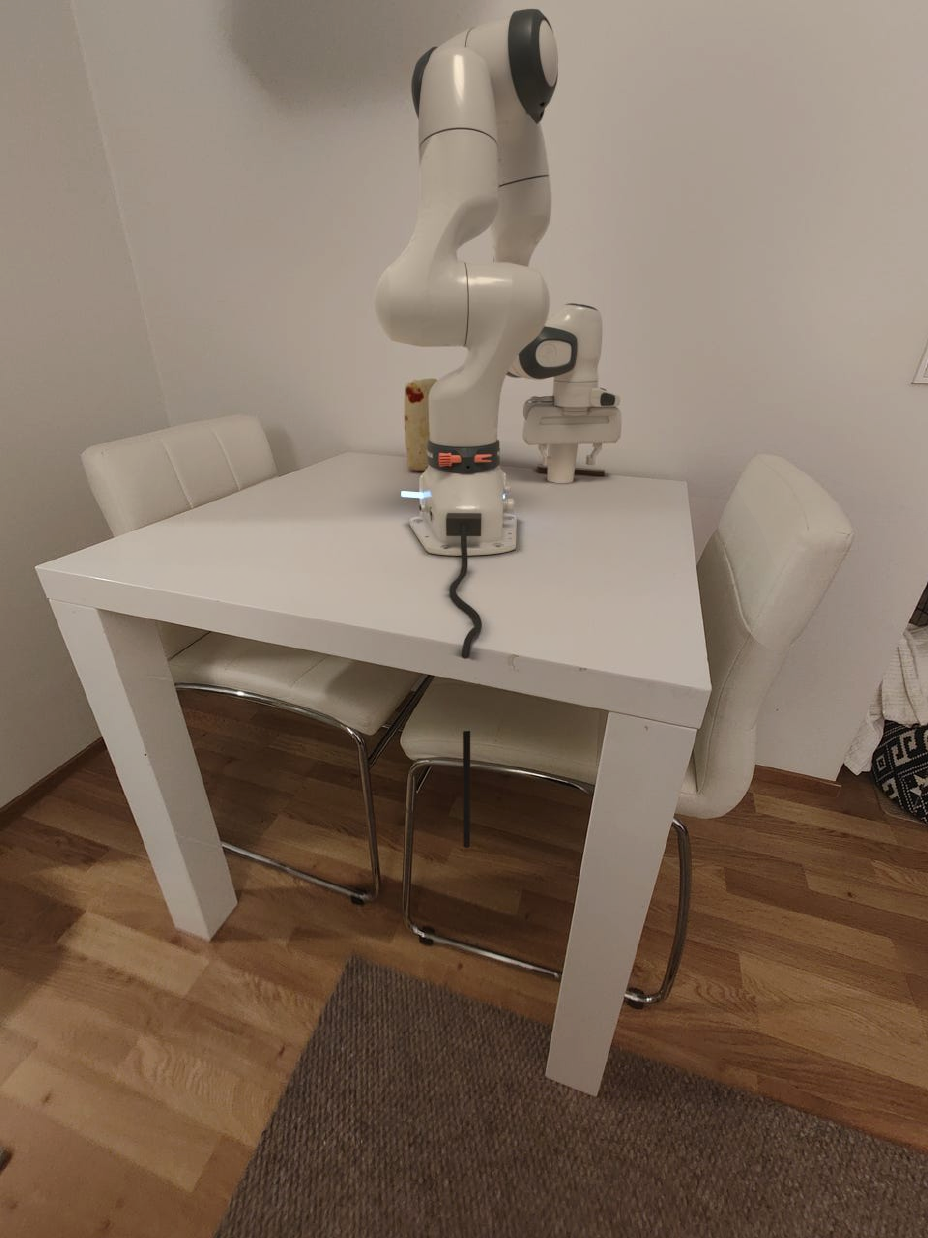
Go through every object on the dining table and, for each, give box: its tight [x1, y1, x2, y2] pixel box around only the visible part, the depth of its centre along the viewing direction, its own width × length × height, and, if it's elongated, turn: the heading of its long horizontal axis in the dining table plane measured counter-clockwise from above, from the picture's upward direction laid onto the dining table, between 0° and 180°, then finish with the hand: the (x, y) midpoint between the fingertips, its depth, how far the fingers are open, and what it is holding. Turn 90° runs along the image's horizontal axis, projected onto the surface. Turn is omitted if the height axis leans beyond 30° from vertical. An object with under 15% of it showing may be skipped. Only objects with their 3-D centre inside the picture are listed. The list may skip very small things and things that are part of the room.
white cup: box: [547, 444, 579, 484], centre depth 124 cm, size 7×7×10 cm
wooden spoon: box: [536, 463, 606, 477], centre depth 131 cm, size 16×4×1 cm, turn 72°
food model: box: [404, 378, 439, 472], centre depth 130 cm, size 10×7×20 cm
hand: (568, 464), depth 121 cm, fingers open, 8 cm apart
